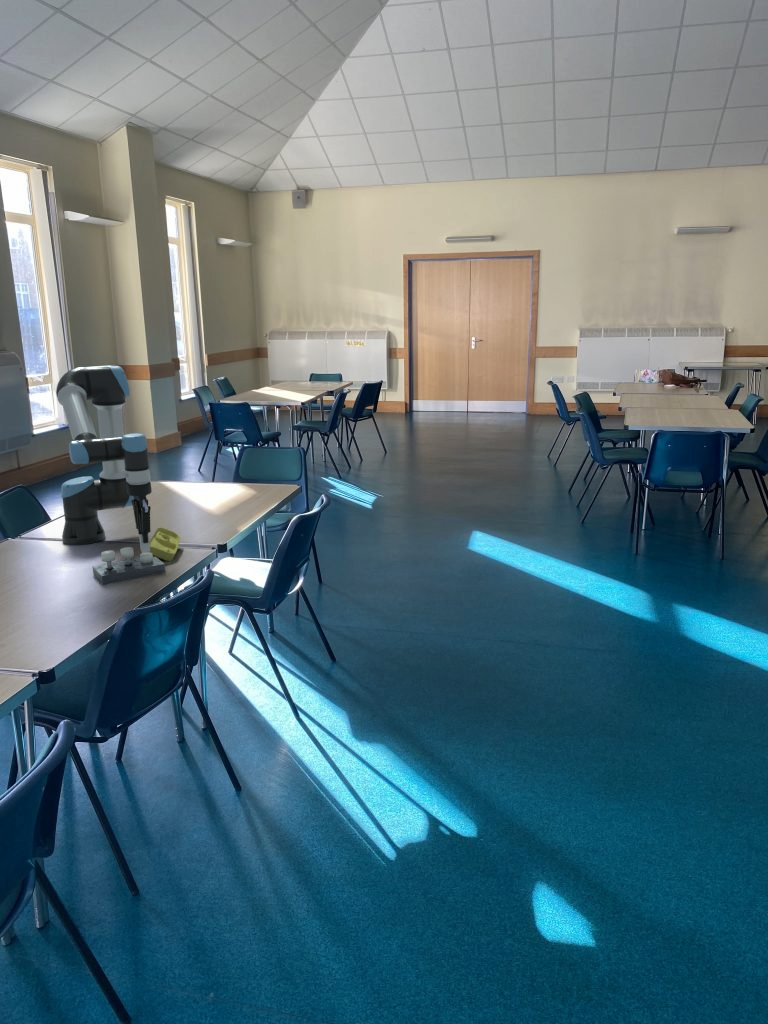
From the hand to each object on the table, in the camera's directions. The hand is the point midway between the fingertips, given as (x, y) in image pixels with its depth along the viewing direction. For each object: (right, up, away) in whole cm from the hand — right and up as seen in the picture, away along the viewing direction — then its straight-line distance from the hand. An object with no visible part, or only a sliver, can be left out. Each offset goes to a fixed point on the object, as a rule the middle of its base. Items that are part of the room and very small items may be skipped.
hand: (145, 551), depth 249 cm
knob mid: (-5, -4, -3) cm, 7 cm away
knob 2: (0, -6, +1) cm, 6 cm away
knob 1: (-10, -5, -6) cm, 12 cm away
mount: (-5, -7, -2) cm, 9 cm away
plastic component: (+1, -2, +18) cm, 19 cm away
